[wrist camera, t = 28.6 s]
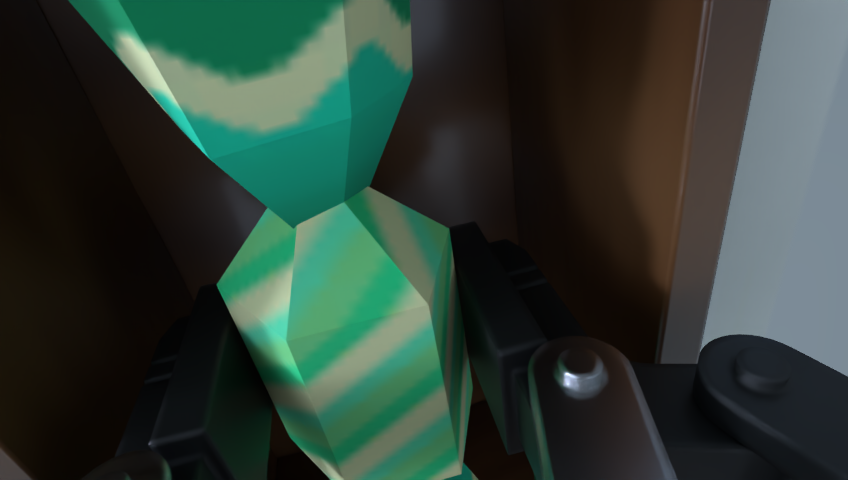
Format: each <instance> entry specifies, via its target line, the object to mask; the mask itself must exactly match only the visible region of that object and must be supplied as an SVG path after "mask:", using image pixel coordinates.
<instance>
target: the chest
mask: <svg viewBox="0 0 848 480" xmlns="http://www.w3.org/2000/svg"><path fill="white" fill-rule="evenodd" d="M770 1H771V0H410V15H411V42H412V69H413V77H412V79H411V82H410V85H409V87H408V90H407V92H406V95H405V97H404V100H403V102H402V105H401V107H400V110H399V113H398V115H397V118H396V120H395V123H394V125H393V128H392V130H391V133H390V136H389V138H388V141H387V143H386V146H385V148H384V151H383V153H382V156H381V158H380V161H379V164H378V166H377V169H376V171H375V174H374V176H373V179H372V181H371V184H370V188H372V189H374V190H376V191H378V192H380V193H382V194H384V195H385V196H387V197H389V198H391V199H393V200H395V201H397V202H399V203H401V204H403V205H405V206H407V207H409V208H411V209H412V210H414V211H416V212H418V213H420V214H422V215H424V216H426V217H428V218H430V219H432V220H434V221H436V222H438V223H440V224H441V225H443V226H445V227H451V226H455V225H460V224H464V223H468V222H472V221H475V222H476V223H477V225H478V227H479V228H480V230H481V231H482V233H483V235H484V236H485V238H486V240H487V241H488V243H491V242H495V241H499V240H503V239H507V240H509V241H511V242H513V243H515V244H516V245H518V246H520V247H522V248H523V249H525V250H526V251H527V252H528V254H529V255H530V256H531V258H532V259H533V260H534V262H535V263H536V265H537V267H538V269H540V270H541V272H542V273H543V274H544V276H545V277H546V279H547V282H548V283H550V284H551V286H552V287H553V288H554V290H555V291H556V293H557V294H558V295H559V297H560V298H561V299H562V301H563V302H564V304H565V305H566V306H567V308H568V309H569V311H570V312H571V313H572V315H573V316H574V318H575V319H576V320H577V322H578V323H579V325H580V326H581V327H582V329H583V330H584V332H585V333H586V334H587V336H588V337H590V338H595V339H598V340H601V341H604V342H606V343H608V344H610V345H612V346H613V347H615V348H616V349H618V350H619V351H620V352H621V353H622V354H623V355H624V356H625V357H626V358H627V359H628V360H630V361H634V362H640V363H653V364H697V363H698V358H699V354H700V349H701V344H702V339H703V334H704V329H705V324H706V319H707V314H708V309H709V304H710V299H711V294H712V289H713V284H714V279H715V274H716V269H717V264H718V259H719V254H720V249H721V244H722V240H723V235H724V230H725V225H726V220H727V215H728V210H729V205H730V200H731V195H732V190H733V185H734V180H735V175H736V170H737V165H738V160H739V155H740V150H741V145H742V140H743V135H744V130H745V125H746V120H747V115H748V110H749V105H750V100H751V95H752V90H753V85H754V81H755V76H756V71H757V66H758V61H759V56H760V51H761V46H762V41H763V36H764V31H765V26H766V21H767V16H768V11H769V6H770ZM267 208H268V207H267V206H265V205H264V204H263V203H262V202H261V201H259V200H258V199H257V198H256V197H255V196H253V195H252V194H251V193H250V192H249V191H247V190H246V189H245V188H244V187H243V186H241V185H240V184H239V183H238V182H237V181H235V180H234V179H233V178H232V177H231V176H229V175H228V174H227V173H226V172H225V171H223V170H222V169H221V168H220V167H219V166H217V165H216V164H215V163H214V162H213V161H211V160H210V159H209V158H208V157H207V156H206V155H205V154H204V153H203V152H202V151H201V150H200V149H199V148H198V147H197V146H196V145H195V144H194V143H193V142H192V141H191V139H190V138H189V137H188V136H187V135H186V134H185V133H184V132H183V131H182V130H181V129H180V128H179V127H178V126H177V125H176V123H175V122H174V121H173V120H172V119H171V118H170V117H169V115H168V114H167V113H166V112H165V111H164V110H163V109H162V107H161V106H160V105H159V104H158V103H157V102H156V101H155V99H154V98H153V97H152V96H151V95H150V94H149V93H148V91H147V90H146V89H145V88H144V87H143V86H142V85H141V83H140V82H139V81H138V80H137V79H136V78H135V76H134V75H133V74H132V73H131V72H130V71H129V70H128V68H127V67H126V66H125V65H124V64H123V63H122V62H121V60H120V59H119V58H118V57H117V56H116V55H115V54H114V52H113V51H112V50H111V49H110V48H109V47H108V46H107V44H106V43H105V42H104V41H103V40H102V39H101V38H100V36H99V35H98V34H97V33H96V32H95V31H94V29H93V28H92V27H91V26H90V25H89V24H88V23H87V21H86V20H85V19H84V18H83V17H82V16H81V15H80V13H79V12H78V11H77V10H76V9H75V8H74V7H73V5H72V4H71V3H70V2H69V1H68V0H0V480H81V479H82V478H83V477H85V476H86V475H87V474H88V473H89V472H91V471H92V470H93V469H95V468H96V467H98V466H99V465H101V464H103V463H104V462H106V461H108V460H110V459H112V458H114V457H115V455H116V452H117V449H118V447H119V444H120V441H121V439H122V436H123V434H124V431H125V428H126V426H127V423H128V421H129V418H130V415H131V413H132V410H133V407H134V405H135V402H136V400H137V397H138V394H139V392H140V389H141V387H142V386H144V379H145V376H146V374H147V371H148V368H149V367H151V366H152V365H151V360H152V358H153V355H154V353H155V350H156V347H157V345H158V342H159V340H160V339H161V338H162V336H163V335H164V334H165V333H166V332H167V331H168V329H169V328H170V327H171V326H172V325H173V324H174V322H175V321H176V320H177V319H178V318H182V317H186V316H190V315H191V312H192V309H193V306H194V303H195V300H196V297H197V293H198V290H199V288H200V287H201V286H203V285H207V284H212V283H216V282H219V280H220V279H221V277H222V276H223V274H224V273H225V271H226V270H227V268H228V267H229V265H230V264H231V262H232V261H233V259H234V257H235V256H236V254H237V253H238V251H239V250H240V248H241V247H242V245H243V244H244V242H245V241H246V239H247V238H248V236H249V235H250V233H251V232H252V230H253V229H254V227H255V226H256V224H257V223H258V221H259V220H260V218H261V217H262V215H263V214H264V212H265V211H266V209H267ZM467 352H468V351H467ZM468 358H469V365H470V372H471V378H472V385H473V390H472V398H471V405H470V413H469V420H468V428H467V435H466V443H465V450H464V458H463V463H464V464H465V465H466V466H467V467H468V468H469V469H470V471H471V472H472V473H473V474H474V475H475V476H476V477H477V478H478V480H534V472H533V470H532V467H531V465H530V463H529V460H528V458H527V456H526V453H525V451H523V452H519V453H516V454H512V455H509V456H508V454H507V451H506V448H505V446H504V443H503V441H502V438H501V436H500V433H499V431H498V428H497V425H496V423H495V420H494V418H493V415H492V413H491V410H490V408H489V405H488V402H487V400H486V397H485V395H484V392H483V390H482V387H481V385H480V382H479V379H478V377H477V374H476V372H475V369H474V367H473V364H472V362H471V359H470V356H469V354H468ZM267 480H330V479H329V478H328V477H327V476H326V475H325V474H324V473H323V471H322V470H321V469H320V468H319V467H318V466H317V465H316V464H315V463H314V462H313V461H312V460H311V459H310V458H309V457H308V456H307V455H306V454H305V453H304V452H303V451H302V450H301V449H300V448H299V446H298V445H297V444H296V443H295V442H294V441H293V440H292V439H291V438H290V437H289V435H288V433H287V430H286V428H285V426H284V424H283V422H282V420H281V418H280V416H279V414H278V412H277V410H276V408H275V406H274V403H273V407H272V420H271V433H270V445H269V458H268V471H267Z"/></svg>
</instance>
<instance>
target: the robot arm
mask: <svg viewBox="0 0 848 480" xmlns="http://www.w3.org/2000/svg"><path fill="white" fill-rule="evenodd" d="M447 228H449V231H450V238H451V245H452V251H453V258H454V265H455V271H456V278H457V285H458V292H459V298H460V305H461V312H462V318H463V325H464V332H465V338H466V345H467V351H468V354H469V356H470V359H471V362H472V364H473V367H474V369H475V372H476V374H477V377H478V379H479V382H480V385H481V387H482V390H483V392H484V395H485V397H486V400H487V402H488V405H489V408H490V410H491V413H492V415H493V418H494V420H495V423H496V425H497V428H498V431H499V433H500V436H501V438H502V441H503V443H504V446H505V448H506V451H507V454H508V456H509V455H512V454H516V453H519V452H523V451H525V453H526V456H527V458H528V460H529V463H530V465H531V467H532V470H533V472H534V480H848V377H847V376H845V375H843V374H841V373H840V372H838V371H836V370H834V369H832V368H830V367H828V366H826V365H824V364H822V363H820V362H818V361H817V360H815V359H813V358H811V357H809V356H807V355H805V354H803V353H801V352H799V351H797V350H795V349H793V348H791V347H789V346H787V345H785V344H783V343H780V342H777V341H775V340H772V339H768V338H764V337H760V336H753V335H741V334H739V335H728V336H723V337H720V338H717V339H714V340H712V341H711V342H709V343H708V344H707V345H705V346H704V347H703V349H702V350H701V352H700V355H699V358H698V363H697V364H653V363H640V362H634V361H630V360H628V359H627V358H626V357H625V356H624V355H623V354H622V353H621V352H620V351H619V350H618V349H616V348H615V347H613V346H612V345H610V344H608V343H606V342H604V341H601V340H598V339H595V338H590V337H588V336H587V334H586V333H585V332H584V330H583V329H582V327H581V326H580V325H579V323H578V322H577V320H576V319H575V318H574V316H573V315H572V313H571V312H570V311H569V309H568V308H567V306H566V305H565V304H564V302H563V301H562V299H561V298H560V297H559V295H558V294H557V293H556V291H555V290H554V288H553V287H552V286H551V284H550V283H548V282H547V279H546V277H545V276H544V274H543V273H542V272H541V270H540V269H538V267H537V265H536V263H535V262H534V260H533V259H532V258H531V256H530V255H529V254H528V252H527V251H526V250H525V249H523V248H522V247H520V246H518V245H516V244H515V243H513V242H511V241H509V240H507V239H503V240H499V241H495V242H491V243H488V241H487V240H486V238H485V236H484V235H483V233H482V231H481V230H480V228H479V227H478V225H477V223H476V222H475V221H472V222H468V223H464V224H460V225H455V226H451V227H447ZM217 283H218V282H216V283H212V284H207V285H203V286H201V287H200V288H199V290H198V293H197V297H196V300H195V303H194V306H193V309H192V312H191V315H190V316H186V317H182V318H178V319H177V320H176V321H175V322H174V324H173V325H172V326H171V327H170V328H169V329H168V331H167V332H166V333H165V334H164V335H163V336H162V338H161V339H160V340H159V342H158V345H157V347H156V350H155V353H154V355H153V358H152V360H151V365H152V366H151V367H149V368H148V371H147V374H146V376H145V379H144V386H142V387H141V389H140V392H139V394H138V397H137V400H136V402H135V405H134V407H133V410H132V413H131V415H130V418H129V421H128V423H127V426H126V428H125V431H124V434H123V436H122V439H121V441H120V444H119V447H118V449H117V452H116V455H115V457H114V458H112V459H110V460H108V461H106V462H104V463H103V464H101V465H99V466H98V467H96V468H95V469H93V470H92V471H91V472H89V473H88V474H87V475H86V476H85V477H83V478H82V479H81V480H267V471H268V458H269V445H270V433H271V420H272V407H273V401H272V399H271V397H270V395H269V393H268V391H267V389H266V387H265V385H264V383H263V381H262V379H261V376H260V374H259V372H258V370H257V368H256V366H255V364H254V362H253V360H252V358H251V356H250V354H249V352H248V349H247V347H246V345H245V343H244V341H243V339H242V337H241V335H240V333H239V331H238V329H237V327H236V325H235V322H234V320H233V318H232V316H231V314H230V312H229V310H228V308H227V306H226V304H225V302H224V300H223V298H222V295H221V293H220V291H219V289H218V287H217Z"/></svg>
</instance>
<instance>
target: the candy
mask: <svg viewBox="0 0 848 480" xmlns="http://www.w3.org/2000/svg"><path fill="white" fill-rule="evenodd" d="M68 1H69V2H70V3H71V4H72V5H73V7H74V8H75V9H76V10H77V11H78V12H79V13H80V15H81V16H82V17H83V18H84V19H85V20H86V21H87V23H88V24H89V25H90V26H91V27H92V28H93V29H94V31H95V32H96V33H97V34H98V35H99V36H100V38H101V39H102V40H103V41H104V42H105V43H106V44H107V46H108V47H109V48H110V49H111V50H112V51H113V52H114V54H115V55H116V56H117V57H118V58H119V59H120V60H121V62H122V63H123V64H124V65H125V66H126V67H127V68H128V70H129V71H130V72H131V73H132V74H133V75H134V76H135V78H136V79H137V80H138V81H139V82H140V83H141V85H142V86H143V87H144V88H145V89H146V90H147V91H148V93H149V94H150V95H151V96H152V97H153V98H154V99H155V101H156V102H157V103H158V104H159V105H160V106H161V107H162V109H163V110H164V111H165V112H166V113H167V114H168V115H169V117H170V118H171V119H172V120H173V121H174V122H175V123H176V125H177V126H178V127H179V128H180V129H181V130H182V131H183V132H184V133H185V134H186V135H187V136H188V137H189V138H190V139H191V141H192V142H193V143H194V144H195V145H196V146H197V147H198V148H199V149H200V150H201V151H202V152H203V153H204V154H205V155H206V156H207V157H208V158H209V159H210V160H211V161H213V162H214V163H215V164H216V165H217V166H219V167H220V168H221V169H222V170H223V171H225V172H226V173H227V174H228V175H229V176H231V177H232V178H233V179H234V180H235V181H237V182H238V183H239V184H240V185H241V186H243V187H244V188H245V189H246V190H247V191H249V192H250V193H251V194H252V195H253V196H255V197H256V198H257V199H258V200H259V201H261V202H262V203H263V204H264V205H265V206H267V207H268V208H267V209H266V211H265V212H264V214H263V215H262V217H261V218H260V220H259V221H258V223H257V224H256V226H255V227H254V229H253V230H252V232H251V233H250V235H249V236H248V238H247V239H246V241H245V242H244V244H243V245H242V247H241V248H240V250H239V251H238V253H237V254H236V256H235V257H234V259H233V261H232V262H231V264H230V265H229V267H228V268H227V270H226V271H225V273H224V274H223V276H222V277H221V279H220V280H219V282H218V283H217V287H218V289H219V291H220V293H221V295H222V298H223V300H224V302H225V304H226V306H227V308H228V310H229V312H230V314H231V316H232V318H233V320H234V322H235V325H236V327H237V329H238V331H239V333H240V335H241V337H242V339H243V341H244V343H245V345H246V347H247V349H248V352H249V354H250V356H251V358H252V360H253V362H254V364H255V366H256V368H257V370H258V372H259V374H260V376H261V379H262V381H263V383H264V385H265V387H266V389H267V391H268V393H269V395H270V397H271V399H272V401H273V403H274V406H275V408H276V410H277V412H278V414H279V416H280V418H281V420H282V422H283V424H284V426H285V428H286V430H287V433H288V435H289V437H290V438H291V439H292V440H293V441H294V442H295V443H296V444H297V445H298V446H299V448H300V449H301V450H302V451H303V452H304V453H305V454H306V455H307V456H308V457H309V458H310V459H311V460H312V461H313V462H314V463H315V464H316V465H317V466H318V467H319V468H320V469H321V470H322V471H323V473H324V474H325V475H326V476H327V477H328V478H329V479H330V480H478V478H477V477H476V476H475V475H474V474H473V473H472V472H471V471H470V469H469V468H468V467H467V466H466V465H465V464H464V463H463V458H464V450H465V443H466V435H467V428H468V420H469V413H470V405H471V398H472V390H473V385H472V378H471V372H470V365H469V358H468V352H467V345H466V338H465V332H464V325H463V318H462V312H461V305H460V298H459V292H458V285H457V278H456V271H455V265H454V258H453V251H452V245H451V238H450V231H449V228H447V227H445V226H443V225H441V224H440V223H438V222H436V221H434V220H432V219H430V218H428V217H426V216H424V215H422V214H420V213H418V212H416V211H414V210H412V209H411V208H409V207H407V206H405V205H403V204H401V203H399V202H397V201H395V200H393V199H391V198H389V197H387V196H385V195H384V194H382V193H380V192H378V191H376V190H374V189H372V188H370V184H371V181H372V179H373V176H374V174H375V171H376V169H377V166H378V164H379V161H380V158H381V156H382V153H383V151H384V148H385V146H386V143H387V141H388V138H389V136H390V133H391V130H392V128H393V125H394V123H395V120H396V118H397V115H398V113H399V110H400V107H401V105H402V102H403V100H404V97H405V95H406V92H407V90H408V87H409V85H410V82H411V79H412V77H413V69H412V42H411V15H410V0H68Z"/></svg>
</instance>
